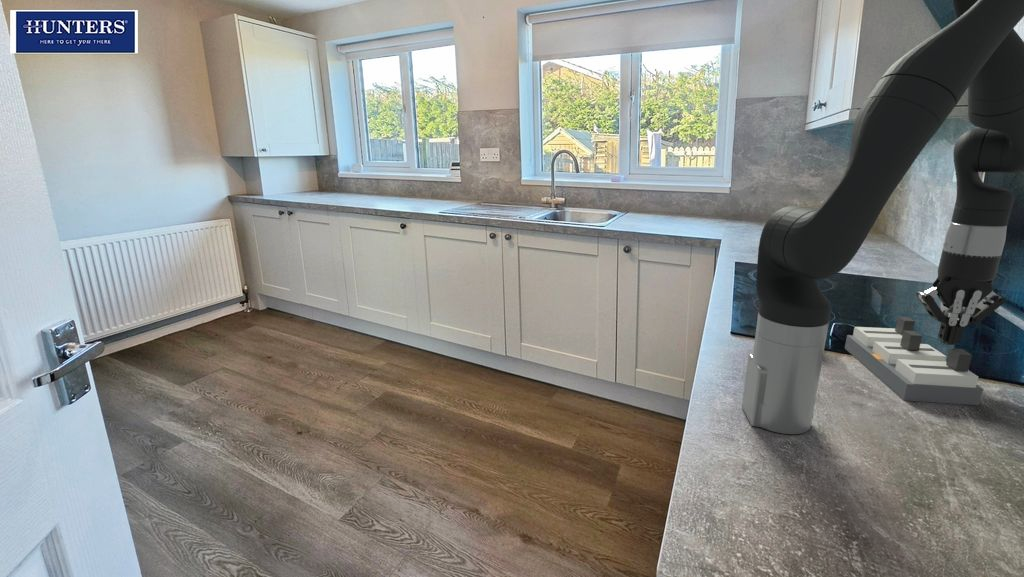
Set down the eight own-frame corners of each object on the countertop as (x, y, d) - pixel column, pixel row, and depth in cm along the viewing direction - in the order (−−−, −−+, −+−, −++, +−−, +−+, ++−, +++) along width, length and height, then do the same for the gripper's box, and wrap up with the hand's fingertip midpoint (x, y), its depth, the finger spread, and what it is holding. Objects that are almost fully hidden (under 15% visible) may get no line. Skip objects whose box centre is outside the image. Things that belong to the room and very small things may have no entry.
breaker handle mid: (907, 350, 90) (910, 335, 89) (900, 345, 92) (903, 330, 91) (918, 351, 90) (922, 335, 89) (911, 345, 92) (914, 330, 91)
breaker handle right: (955, 370, 82) (959, 354, 81) (945, 364, 84) (950, 348, 83) (967, 371, 81) (972, 354, 81) (958, 365, 84) (962, 349, 83)
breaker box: (903, 400, 83) (909, 372, 82) (844, 348, 104) (848, 325, 102) (978, 405, 81) (986, 377, 79) (903, 351, 102) (908, 328, 100)
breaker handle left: (901, 335, 97) (904, 320, 96) (894, 330, 99) (897, 316, 98) (911, 335, 97) (915, 321, 96) (904, 331, 99) (908, 317, 98)
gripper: (941, 253, 82) (918, 349, 87) (1034, 255, 80) (1006, 354, 85) (915, 244, 89) (895, 334, 94) (1000, 246, 87) (975, 337, 92)
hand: (948, 343), depth 89 cm, fingers closed
